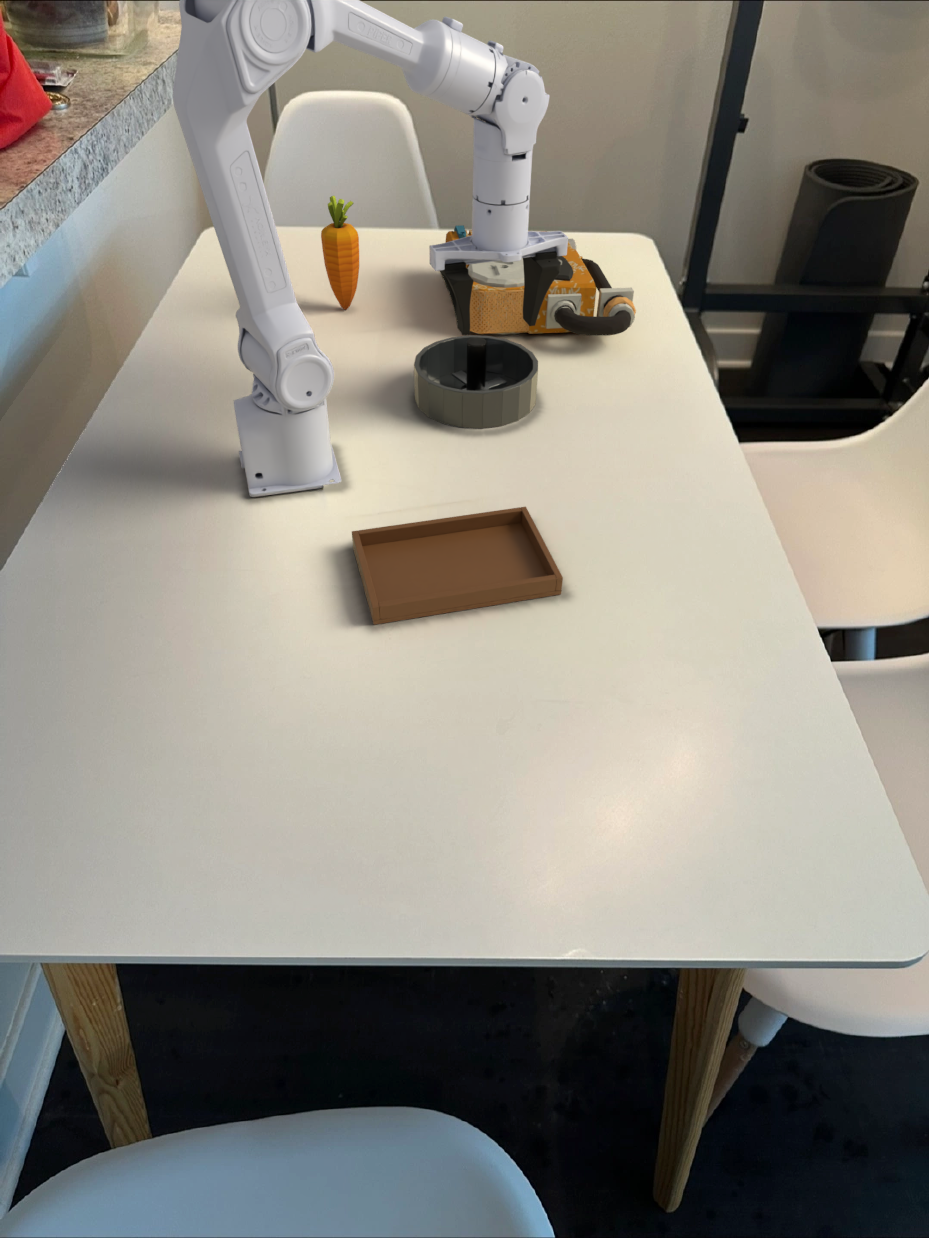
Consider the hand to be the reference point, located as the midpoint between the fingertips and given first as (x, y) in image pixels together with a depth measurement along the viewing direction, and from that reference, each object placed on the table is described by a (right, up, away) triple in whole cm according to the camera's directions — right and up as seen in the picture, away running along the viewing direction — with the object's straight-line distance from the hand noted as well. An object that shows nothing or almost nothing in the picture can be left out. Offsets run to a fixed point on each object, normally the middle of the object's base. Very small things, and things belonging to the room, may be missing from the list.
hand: (496, 326), depth 100 cm
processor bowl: (-2, -6, +9) cm, 11 cm away
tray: (-4, -27, -15) cm, 31 cm away
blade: (-2, -6, +8) cm, 10 cm away
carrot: (-20, +11, +27) cm, 36 cm away
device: (+6, +10, +27) cm, 29 cm away
